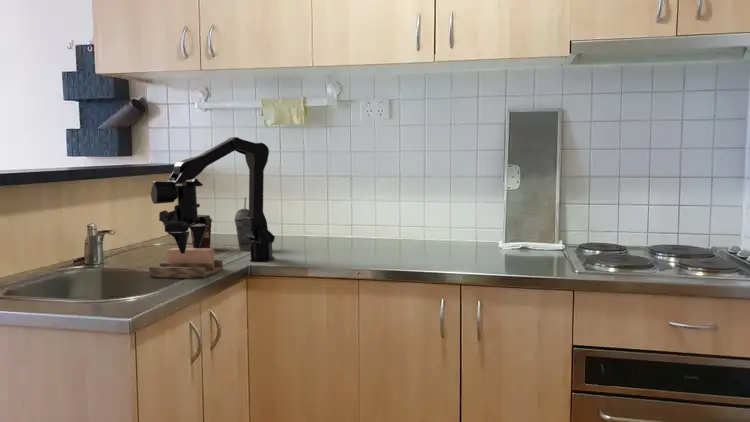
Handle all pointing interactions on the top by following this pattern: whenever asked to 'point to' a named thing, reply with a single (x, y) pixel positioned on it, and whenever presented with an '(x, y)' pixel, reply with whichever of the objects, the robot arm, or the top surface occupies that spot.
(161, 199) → the robot arm
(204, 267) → the drying rack
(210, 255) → the pink rectangular block
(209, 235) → the coffee cup
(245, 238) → the beverage cup
